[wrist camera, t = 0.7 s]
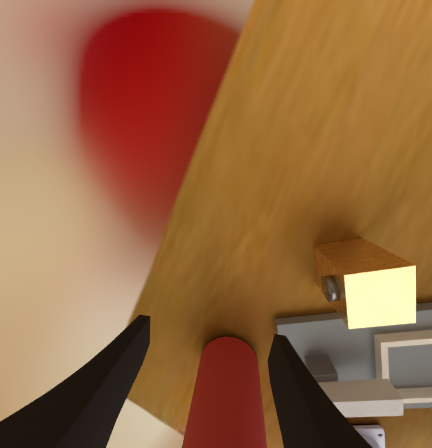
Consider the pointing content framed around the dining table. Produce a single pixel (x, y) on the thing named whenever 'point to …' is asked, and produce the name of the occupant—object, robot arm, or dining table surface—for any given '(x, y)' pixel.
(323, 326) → the shaft board
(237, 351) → the beer can
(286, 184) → the dining table surface
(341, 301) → the block
